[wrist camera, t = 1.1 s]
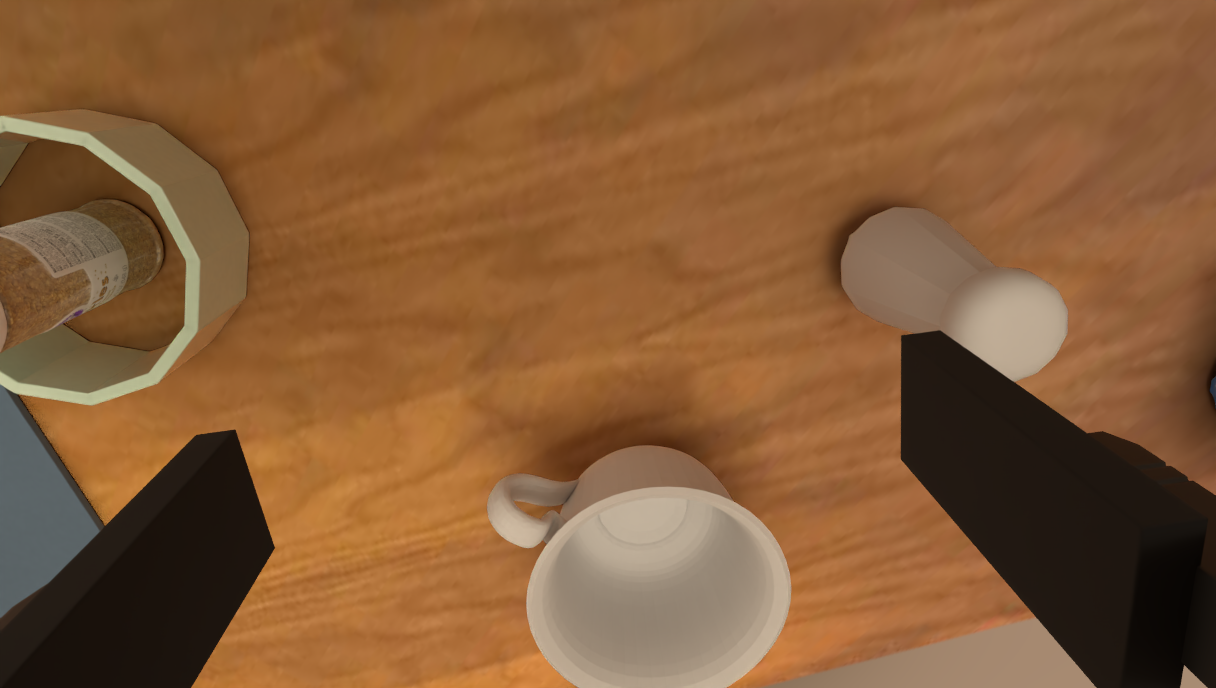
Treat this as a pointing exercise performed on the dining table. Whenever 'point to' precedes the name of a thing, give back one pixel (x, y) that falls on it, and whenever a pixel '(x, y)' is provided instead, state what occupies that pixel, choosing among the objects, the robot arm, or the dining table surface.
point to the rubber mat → (35, 507)
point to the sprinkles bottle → (72, 265)
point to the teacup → (646, 573)
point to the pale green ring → (197, 226)
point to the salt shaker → (952, 291)
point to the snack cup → (1213, 389)
